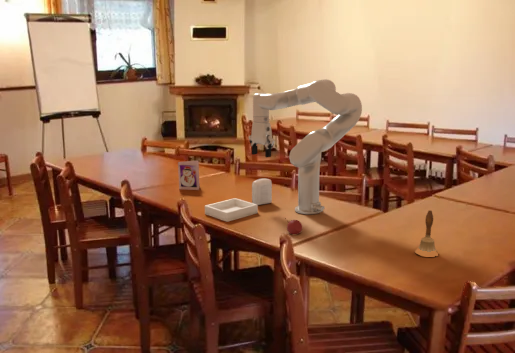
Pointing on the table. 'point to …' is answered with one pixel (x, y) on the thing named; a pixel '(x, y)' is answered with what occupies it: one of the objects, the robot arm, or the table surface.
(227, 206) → the box
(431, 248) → the hand bell
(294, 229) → the fruit
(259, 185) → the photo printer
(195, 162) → the greeting card
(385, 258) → the table surface
